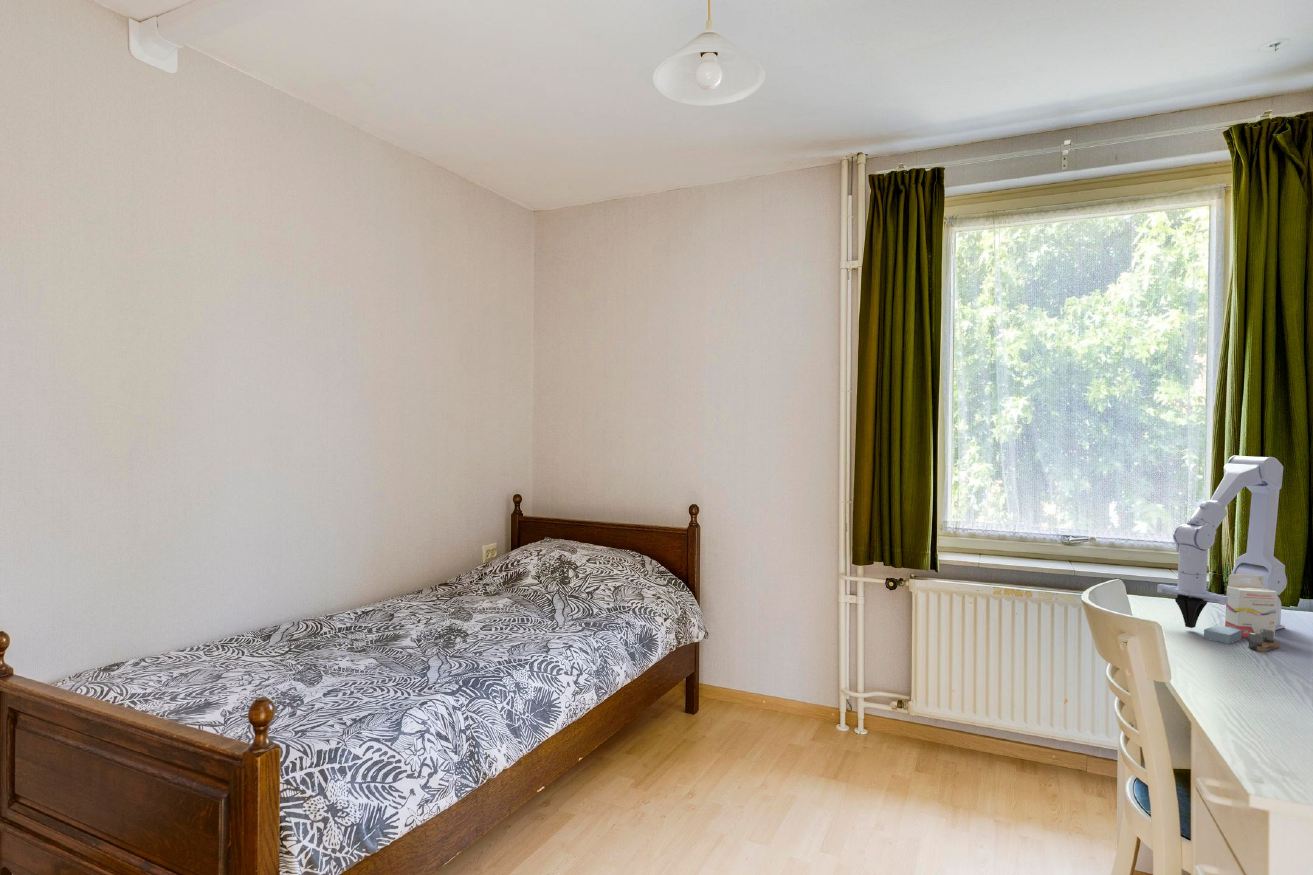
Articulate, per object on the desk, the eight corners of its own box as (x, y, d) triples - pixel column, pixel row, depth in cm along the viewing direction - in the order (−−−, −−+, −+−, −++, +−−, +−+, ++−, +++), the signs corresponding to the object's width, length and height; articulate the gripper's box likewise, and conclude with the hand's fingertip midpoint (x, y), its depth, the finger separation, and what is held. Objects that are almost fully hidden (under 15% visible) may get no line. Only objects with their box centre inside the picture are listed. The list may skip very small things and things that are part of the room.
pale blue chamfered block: (1216, 634, 176) (1216, 624, 176) (1241, 639, 172) (1241, 629, 172) (1203, 639, 171) (1204, 629, 171) (1229, 645, 167) (1229, 635, 167)
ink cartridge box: (1238, 637, 172) (1240, 577, 172) (1224, 632, 177) (1226, 573, 177) (1276, 639, 171) (1278, 579, 171) (1261, 633, 176) (1263, 574, 176)
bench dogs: (1262, 643, 168) (1263, 628, 168) (1279, 647, 165) (1280, 632, 165) (1246, 648, 164) (1247, 633, 164) (1263, 652, 161) (1264, 636, 161)
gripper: (1151, 568, 181) (1150, 621, 182) (1218, 580, 169) (1216, 636, 169) (1166, 566, 185) (1164, 618, 185) (1232, 577, 172) (1230, 632, 172)
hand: (1190, 626), depth 177 cm, fingers closed
